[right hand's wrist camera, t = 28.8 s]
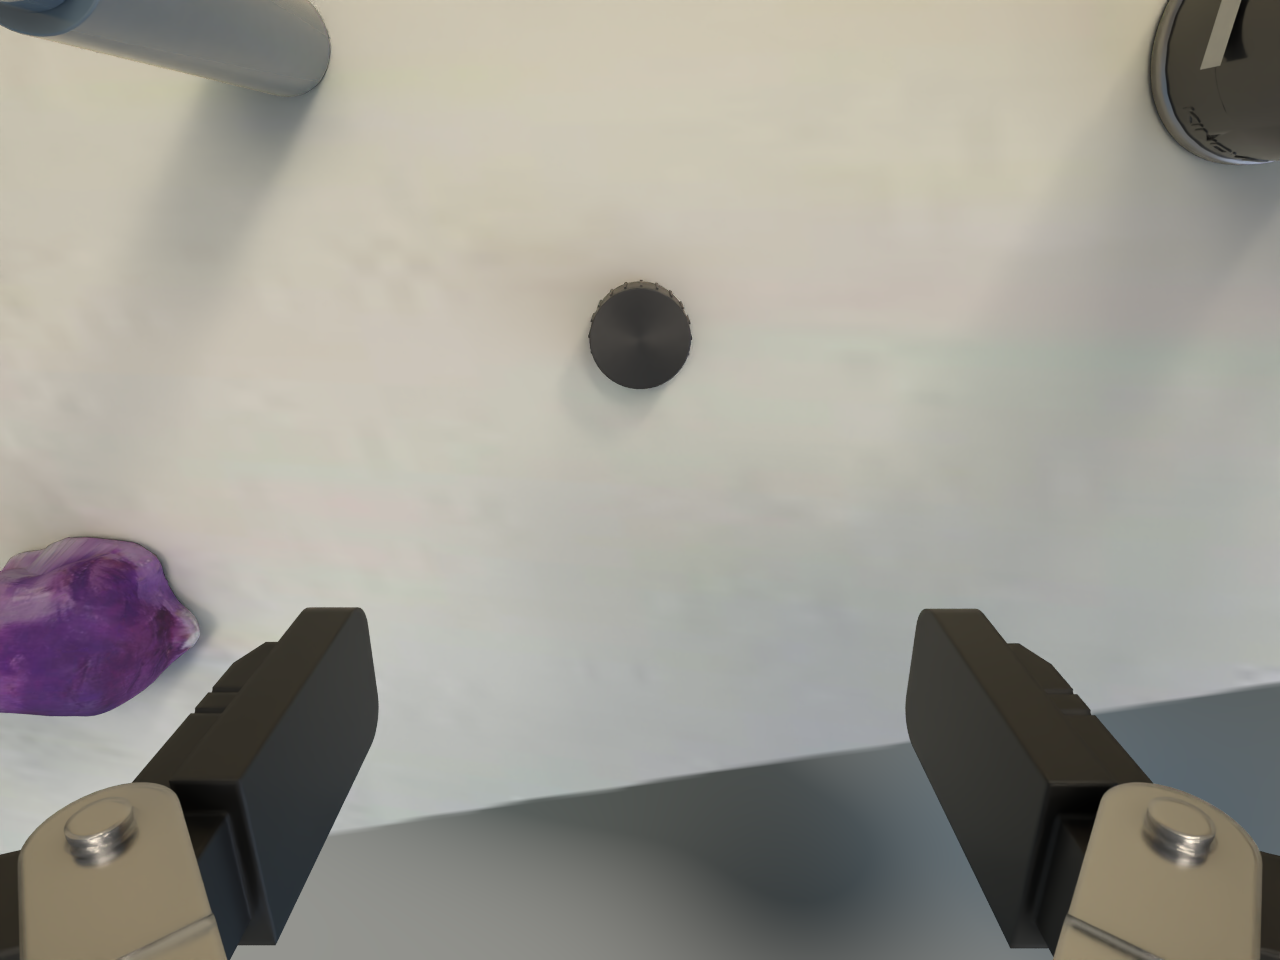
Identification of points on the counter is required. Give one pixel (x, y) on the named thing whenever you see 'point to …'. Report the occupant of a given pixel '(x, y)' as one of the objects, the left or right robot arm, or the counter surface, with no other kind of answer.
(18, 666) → the figurine
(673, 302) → the lid
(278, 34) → the grey cylinder
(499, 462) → the counter surface
